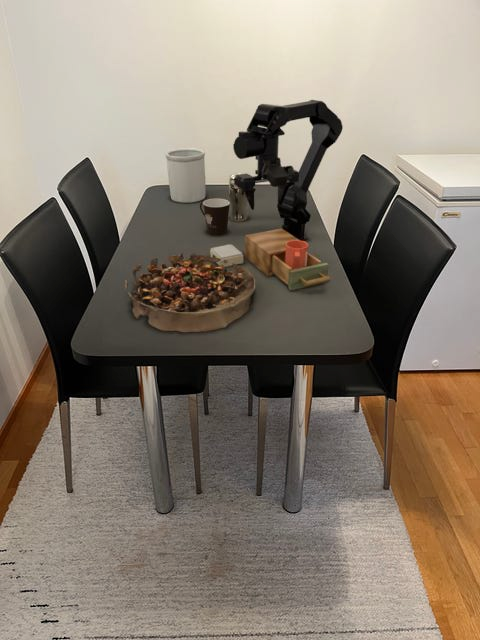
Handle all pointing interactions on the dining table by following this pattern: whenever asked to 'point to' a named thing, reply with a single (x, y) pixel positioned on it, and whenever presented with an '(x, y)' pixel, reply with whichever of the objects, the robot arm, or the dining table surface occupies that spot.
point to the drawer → (299, 272)
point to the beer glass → (237, 201)
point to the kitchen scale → (227, 255)
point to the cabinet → (266, 247)
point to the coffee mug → (216, 215)
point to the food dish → (192, 294)
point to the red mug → (296, 254)
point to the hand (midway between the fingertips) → (266, 207)
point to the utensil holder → (186, 174)
